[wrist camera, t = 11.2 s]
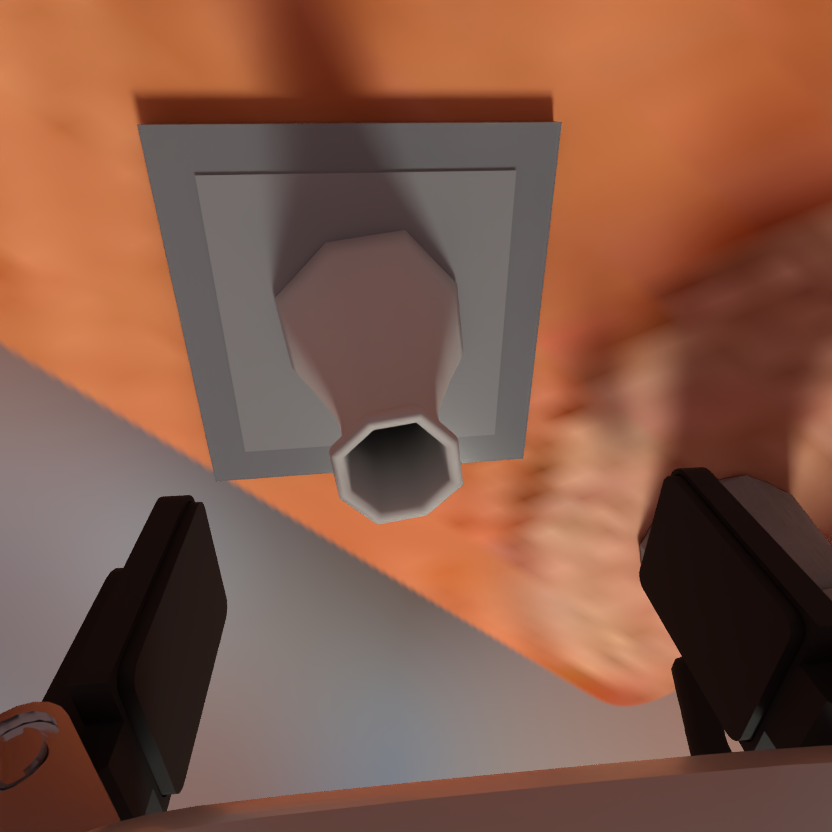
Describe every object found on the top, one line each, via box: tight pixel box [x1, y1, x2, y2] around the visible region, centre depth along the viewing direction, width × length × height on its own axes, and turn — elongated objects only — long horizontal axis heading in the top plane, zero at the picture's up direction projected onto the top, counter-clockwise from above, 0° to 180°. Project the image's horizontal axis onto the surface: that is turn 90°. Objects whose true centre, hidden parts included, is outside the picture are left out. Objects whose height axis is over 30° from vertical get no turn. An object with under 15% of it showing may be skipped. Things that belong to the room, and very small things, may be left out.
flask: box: [274, 230, 463, 524], centre depth 18 cm, size 7×7×10 cm
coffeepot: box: [640, 475, 832, 756], centre depth 24 cm, size 15×9×18 cm, turn 85°
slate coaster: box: [138, 121, 562, 481], centre depth 22 cm, size 14×14×1 cm
